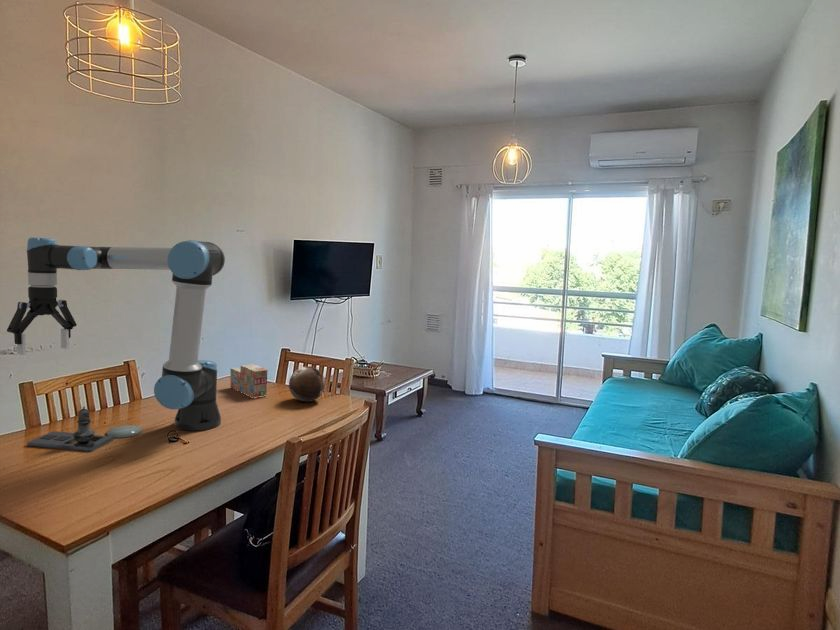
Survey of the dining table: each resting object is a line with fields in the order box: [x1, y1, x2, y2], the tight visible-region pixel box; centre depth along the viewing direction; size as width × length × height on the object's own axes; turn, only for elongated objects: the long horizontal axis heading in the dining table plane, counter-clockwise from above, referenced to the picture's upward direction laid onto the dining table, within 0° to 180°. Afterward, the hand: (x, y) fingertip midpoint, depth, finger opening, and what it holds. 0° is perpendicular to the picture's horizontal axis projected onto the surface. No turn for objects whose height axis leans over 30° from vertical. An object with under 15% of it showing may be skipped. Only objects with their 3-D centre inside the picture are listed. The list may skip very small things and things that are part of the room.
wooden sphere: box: [288, 366, 326, 402], centre depth 219 cm, size 15×15×15 cm
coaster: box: [106, 424, 143, 439], centre depth 170 cm, size 10×10×1 cm
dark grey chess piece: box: [72, 406, 96, 446], centre depth 158 cm, size 6×6×12 cm
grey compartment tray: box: [27, 430, 114, 453], centre depth 158 cm, size 20×10×1 cm, turn 86°
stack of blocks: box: [230, 363, 269, 399], centre depth 227 cm, size 21×6×12 cm, turn 46°
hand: (44, 351), depth 167 cm, fingers open, 13 cm apart
